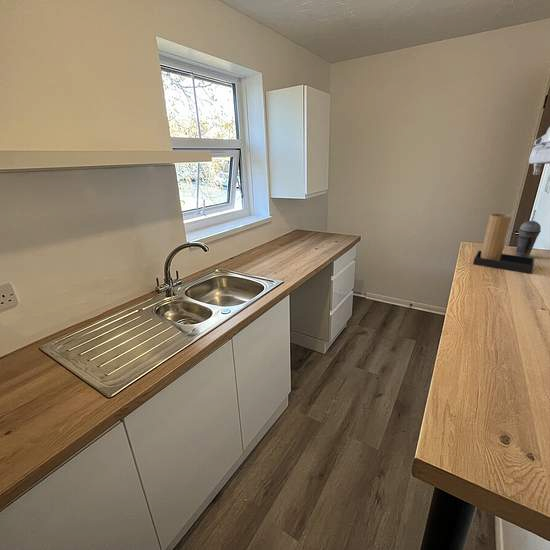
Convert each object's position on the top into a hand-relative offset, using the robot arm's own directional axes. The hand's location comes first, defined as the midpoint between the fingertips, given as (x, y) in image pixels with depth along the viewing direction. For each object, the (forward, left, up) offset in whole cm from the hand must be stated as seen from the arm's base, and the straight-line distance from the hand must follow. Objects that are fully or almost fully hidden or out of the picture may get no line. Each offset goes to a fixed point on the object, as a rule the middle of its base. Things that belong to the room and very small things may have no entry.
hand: (544, 174), depth 127 cm
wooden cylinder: (+18, +23, -33) cm, 44 cm away
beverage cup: (+3, +10, -34) cm, 35 cm away
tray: (+14, +24, -33) cm, 43 cm away
